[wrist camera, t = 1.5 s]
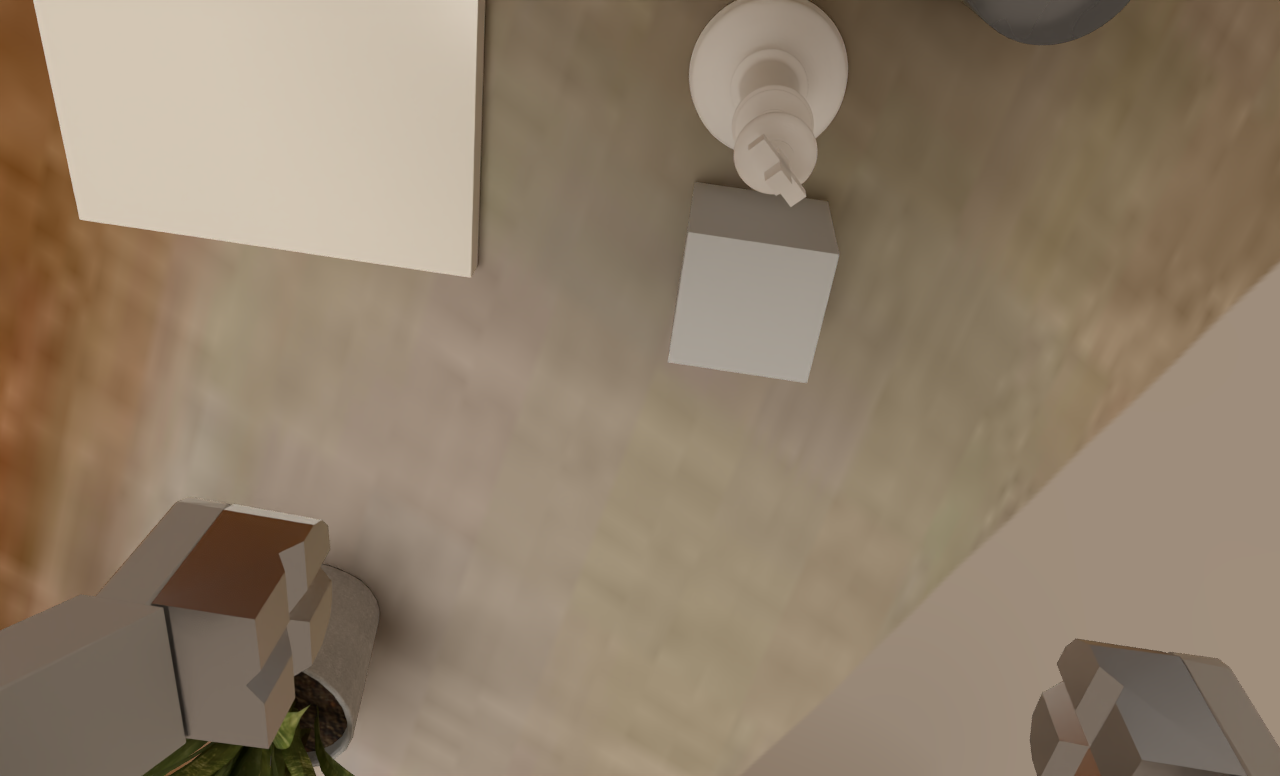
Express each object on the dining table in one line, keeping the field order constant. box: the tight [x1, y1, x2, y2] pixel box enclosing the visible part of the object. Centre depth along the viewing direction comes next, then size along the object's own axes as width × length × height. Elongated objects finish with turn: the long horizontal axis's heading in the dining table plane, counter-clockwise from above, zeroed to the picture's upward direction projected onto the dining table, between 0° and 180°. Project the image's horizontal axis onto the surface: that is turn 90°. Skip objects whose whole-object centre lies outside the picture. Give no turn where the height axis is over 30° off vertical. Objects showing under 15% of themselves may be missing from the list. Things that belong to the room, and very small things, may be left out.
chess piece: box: [689, 0, 848, 207], centre depth 25 cm, size 5×5×10 cm
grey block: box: [668, 182, 839, 383], centre depth 31 cm, size 4×4×4 cm
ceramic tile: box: [33, 0, 485, 278], centre depth 30 cm, size 14×14×1 cm
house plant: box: [142, 564, 380, 776], centre depth 37 cm, size 14×14×16 cm
